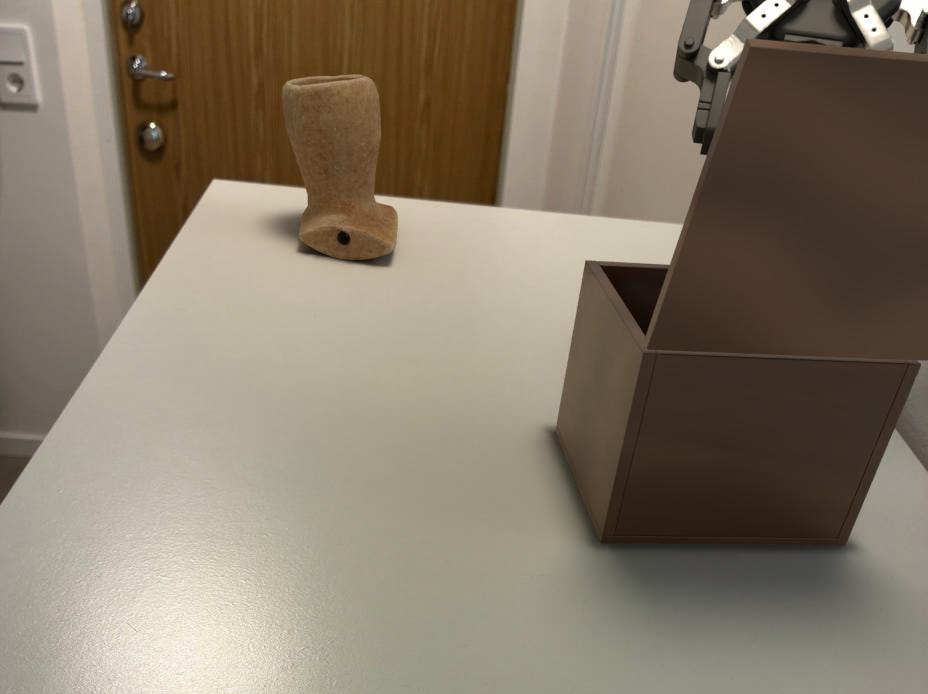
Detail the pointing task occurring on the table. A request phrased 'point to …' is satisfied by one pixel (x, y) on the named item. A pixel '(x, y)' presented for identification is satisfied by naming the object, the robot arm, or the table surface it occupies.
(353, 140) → the tan boot
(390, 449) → the table surface
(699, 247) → the chest lid
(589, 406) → the chest
